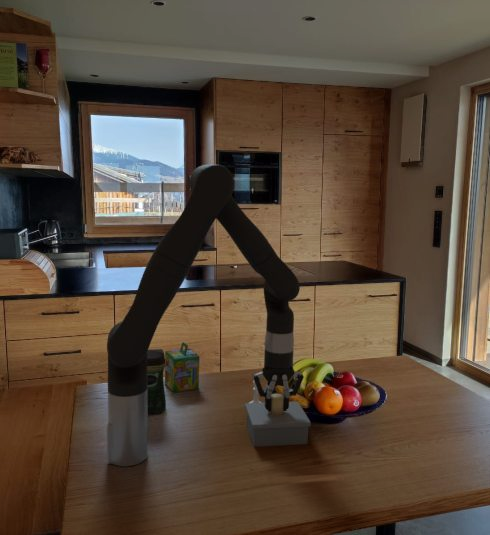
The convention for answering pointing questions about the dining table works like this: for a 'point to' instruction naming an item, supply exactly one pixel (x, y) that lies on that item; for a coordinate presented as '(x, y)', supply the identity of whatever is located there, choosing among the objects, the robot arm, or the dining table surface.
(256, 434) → the box
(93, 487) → the dining table surface
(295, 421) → the lid
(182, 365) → the chalk box
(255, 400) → the chess piece
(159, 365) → the coffee jar
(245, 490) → the dining table surface
